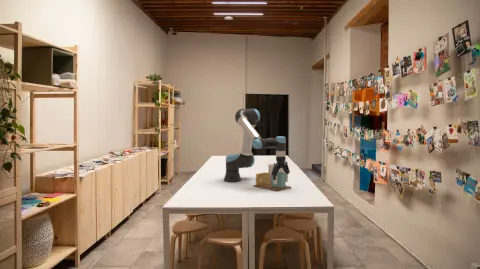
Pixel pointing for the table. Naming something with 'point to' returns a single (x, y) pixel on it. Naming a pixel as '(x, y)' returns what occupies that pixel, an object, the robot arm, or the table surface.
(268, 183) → the board
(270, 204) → the table surface
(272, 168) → the candy box
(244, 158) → the robot arm
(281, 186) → the stub
